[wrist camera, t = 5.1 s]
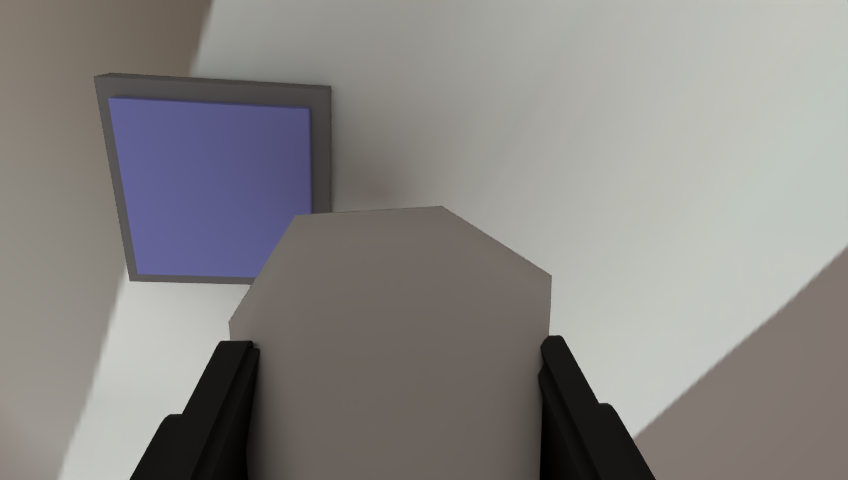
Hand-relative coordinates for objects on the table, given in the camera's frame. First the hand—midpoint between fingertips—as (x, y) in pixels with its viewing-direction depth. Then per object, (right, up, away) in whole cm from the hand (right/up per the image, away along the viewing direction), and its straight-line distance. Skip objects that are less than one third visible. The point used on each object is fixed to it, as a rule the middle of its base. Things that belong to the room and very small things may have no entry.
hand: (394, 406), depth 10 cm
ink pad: (-8, +6, +14) cm, 17 cm away
